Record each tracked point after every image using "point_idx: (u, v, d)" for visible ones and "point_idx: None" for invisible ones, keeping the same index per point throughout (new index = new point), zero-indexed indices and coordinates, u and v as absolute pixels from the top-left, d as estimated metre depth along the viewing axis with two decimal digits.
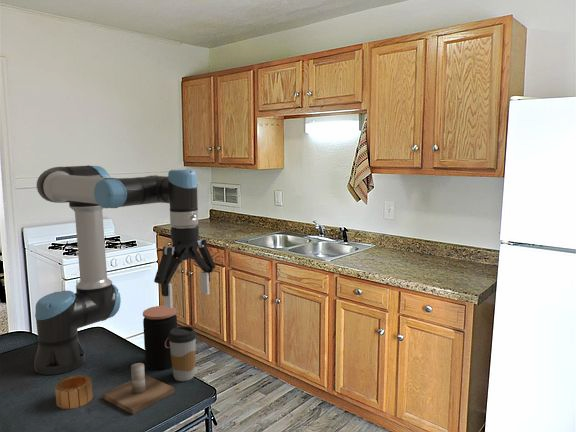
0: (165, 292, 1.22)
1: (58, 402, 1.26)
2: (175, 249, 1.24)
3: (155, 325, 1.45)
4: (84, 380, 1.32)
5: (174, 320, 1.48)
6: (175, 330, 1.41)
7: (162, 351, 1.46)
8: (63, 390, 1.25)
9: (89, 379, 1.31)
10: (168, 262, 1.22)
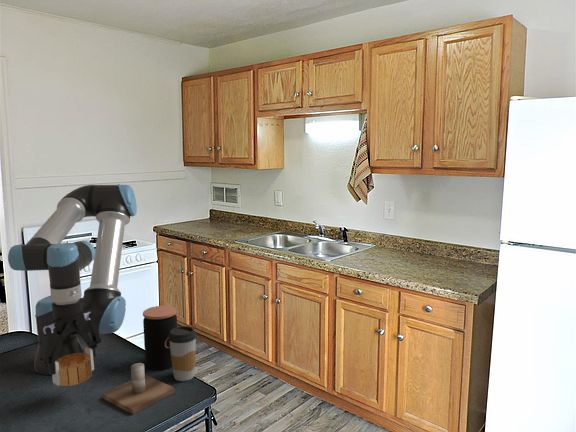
0: (51, 371, 1.24)
1: None
2: (55, 326, 1.23)
3: (155, 325, 1.45)
4: (83, 358, 1.32)
5: (174, 320, 1.48)
6: (175, 330, 1.41)
7: (162, 351, 1.46)
8: (62, 367, 1.25)
9: (89, 357, 1.31)
10: (49, 342, 1.22)
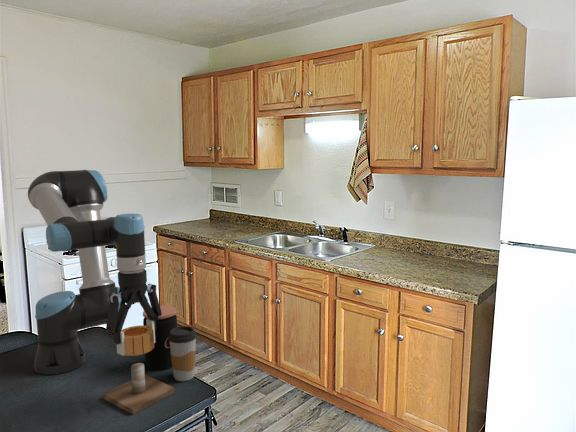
0: (117, 340, 1.24)
1: None
2: (121, 295, 1.24)
3: None
4: (145, 330, 1.32)
5: (174, 320, 1.48)
6: (175, 330, 1.41)
7: (162, 351, 1.46)
8: (127, 337, 1.25)
9: (151, 328, 1.31)
10: (116, 310, 1.22)
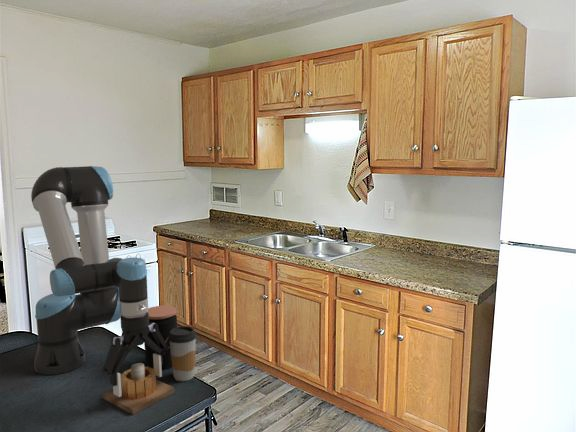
0: (113, 382, 1.24)
1: (124, 393, 1.28)
2: (124, 338, 1.26)
3: None
4: (147, 371, 1.34)
5: (174, 320, 1.48)
6: (175, 330, 1.41)
7: None
8: (129, 381, 1.27)
9: (153, 370, 1.33)
10: (116, 353, 1.23)
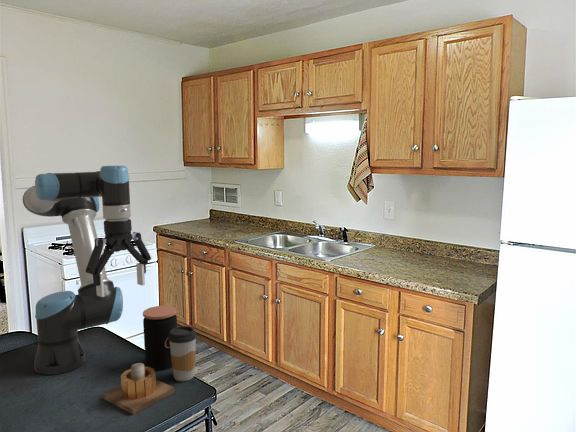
0: (96, 282, 1.29)
1: (124, 393, 1.28)
2: (107, 241, 1.30)
3: (155, 325, 1.45)
4: (147, 371, 1.34)
5: (174, 320, 1.48)
6: (175, 330, 1.41)
7: (162, 351, 1.46)
8: (129, 381, 1.27)
9: (153, 370, 1.33)
10: (99, 253, 1.28)
